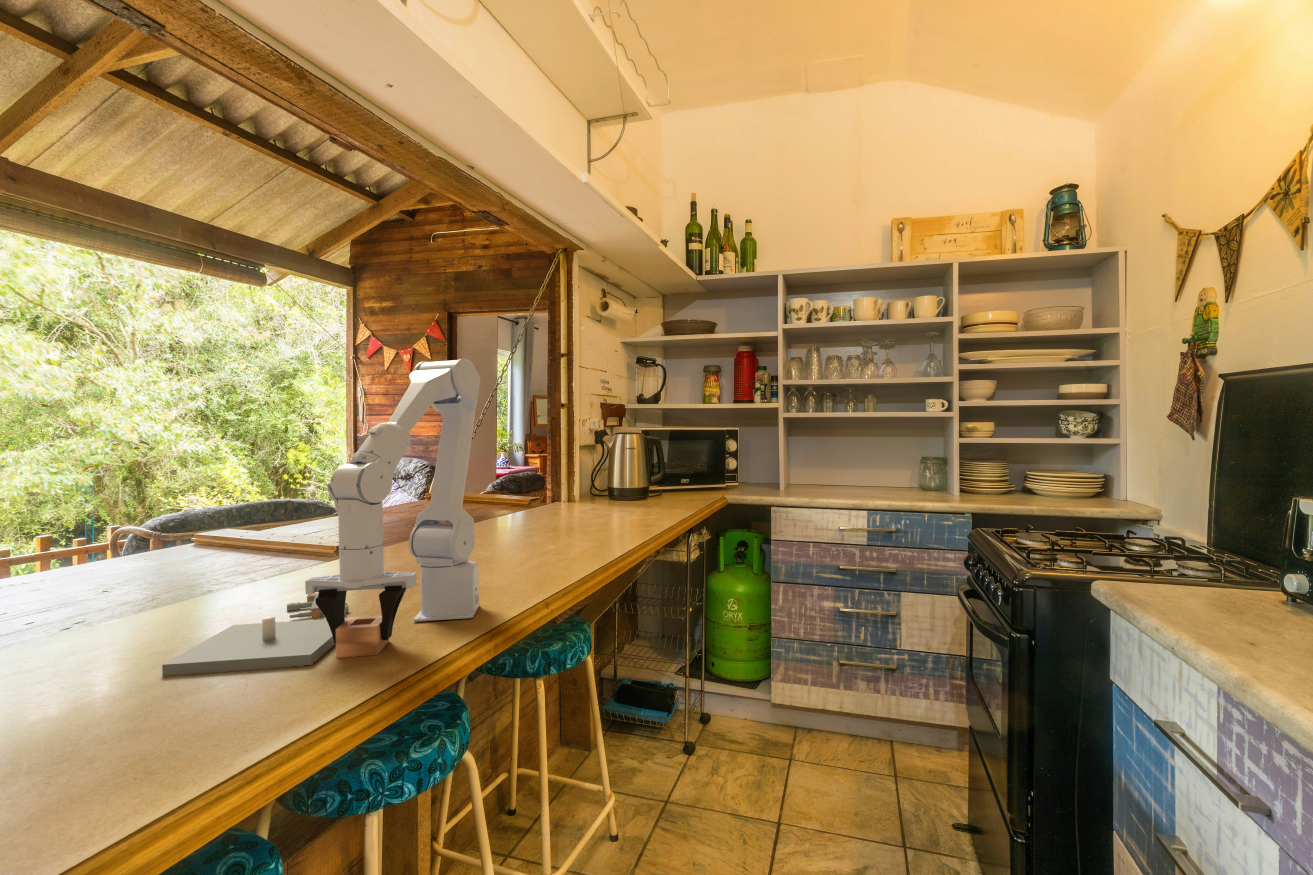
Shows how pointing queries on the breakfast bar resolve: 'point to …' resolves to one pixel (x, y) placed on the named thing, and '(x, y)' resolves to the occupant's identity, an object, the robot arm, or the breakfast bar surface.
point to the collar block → (360, 637)
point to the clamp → (310, 603)
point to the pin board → (256, 648)
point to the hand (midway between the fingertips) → (363, 639)
